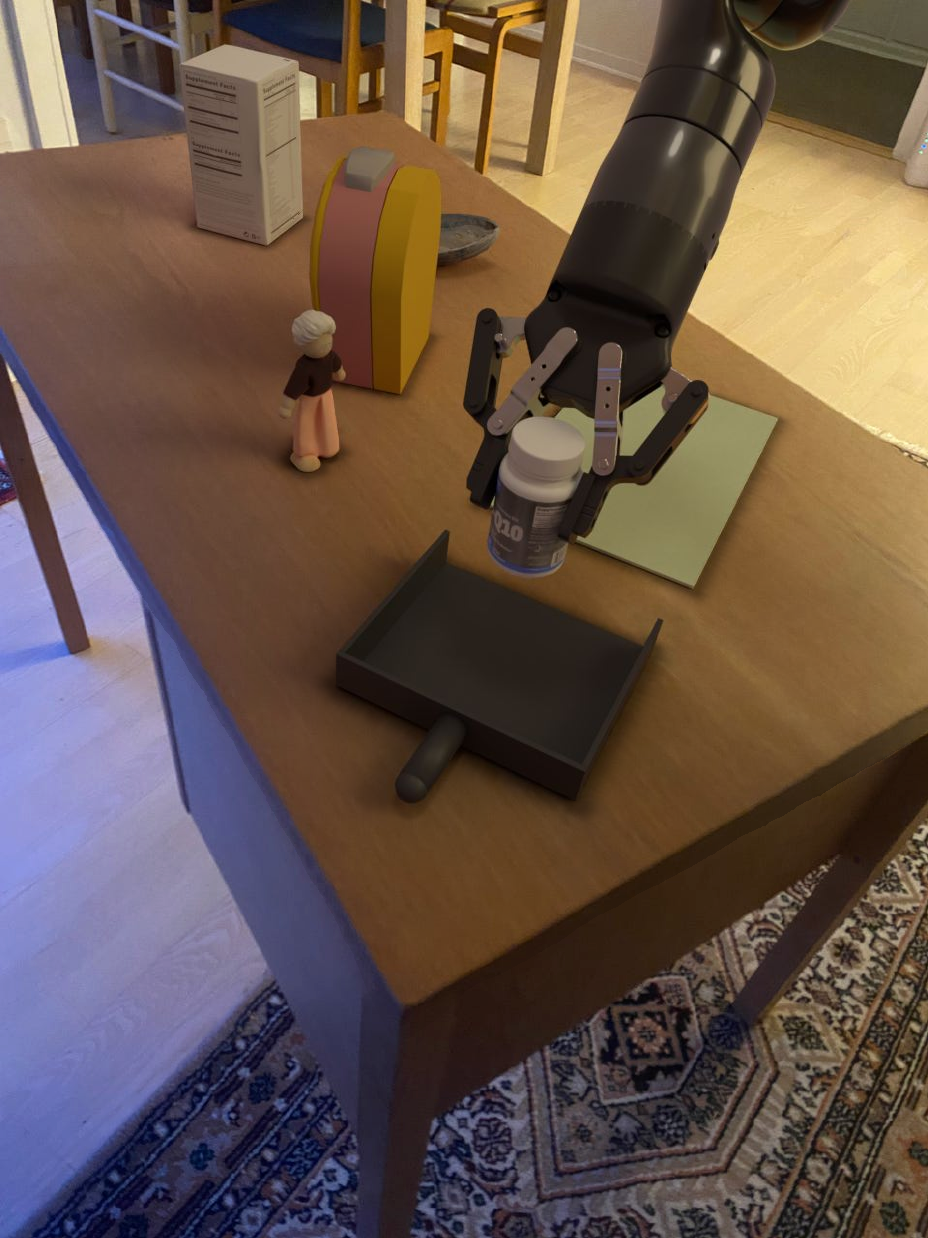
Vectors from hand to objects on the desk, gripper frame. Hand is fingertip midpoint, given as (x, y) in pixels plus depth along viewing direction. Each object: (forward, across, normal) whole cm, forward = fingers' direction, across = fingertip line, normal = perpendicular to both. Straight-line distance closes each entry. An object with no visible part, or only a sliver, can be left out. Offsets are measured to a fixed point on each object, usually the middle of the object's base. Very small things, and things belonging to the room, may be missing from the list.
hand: (522, 521), depth 50 cm
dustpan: (+11, 0, +8) cm, 14 cm away
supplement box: (-24, -55, +44) cm, 75 cm away
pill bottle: (+2, 0, +4) cm, 4 cm away
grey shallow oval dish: (-28, -35, +48) cm, 66 cm away
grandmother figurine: (0, -24, +20) cm, 31 cm away
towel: (-12, 0, +31) cm, 33 cm away
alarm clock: (-12, -28, +32) cm, 44 cm away
